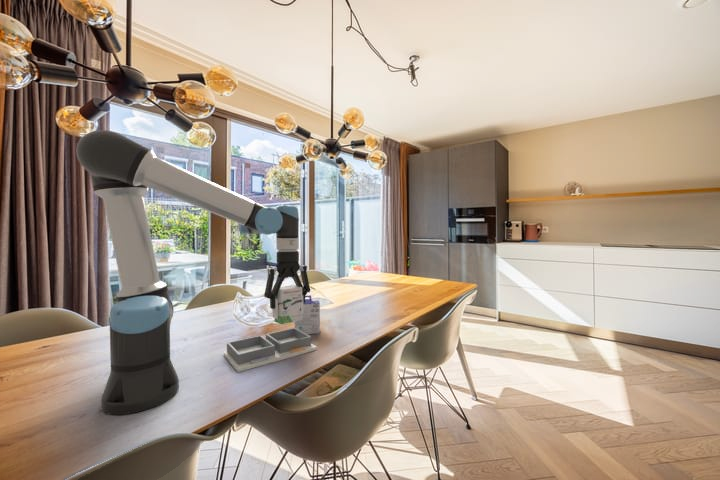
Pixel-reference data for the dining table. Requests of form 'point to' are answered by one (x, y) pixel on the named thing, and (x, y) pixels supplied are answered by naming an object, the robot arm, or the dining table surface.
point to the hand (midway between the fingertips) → (288, 315)
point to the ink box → (289, 304)
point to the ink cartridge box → (309, 317)
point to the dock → (267, 348)
